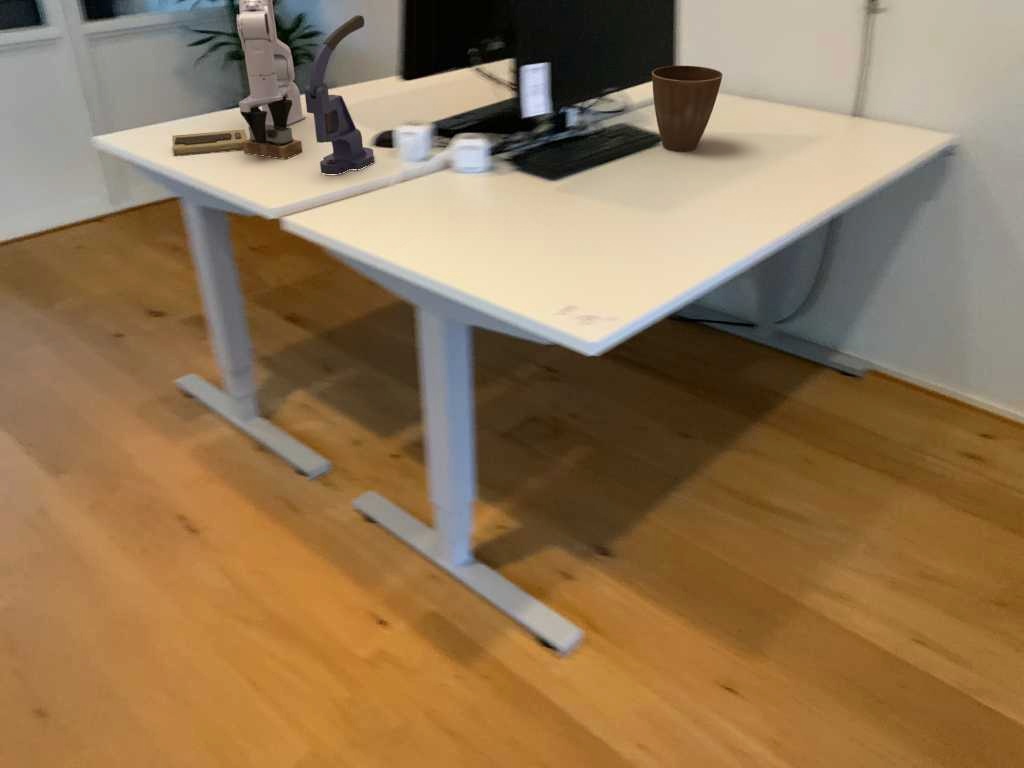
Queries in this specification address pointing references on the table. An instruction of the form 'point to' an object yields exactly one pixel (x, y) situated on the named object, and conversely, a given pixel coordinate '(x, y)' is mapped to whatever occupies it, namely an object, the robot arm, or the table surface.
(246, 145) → the rectangular frame with crossbar
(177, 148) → the beige retro keyboard
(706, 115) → the plant pot
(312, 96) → the hand press
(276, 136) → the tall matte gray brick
